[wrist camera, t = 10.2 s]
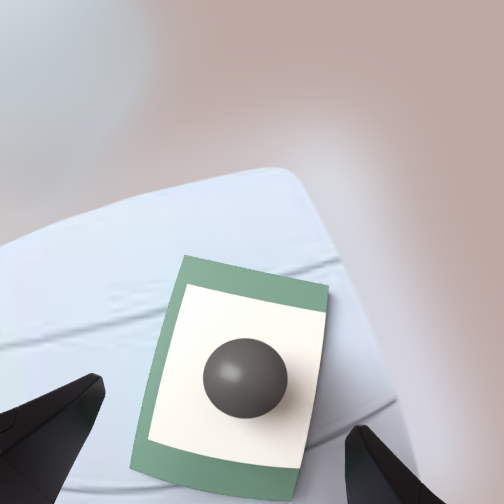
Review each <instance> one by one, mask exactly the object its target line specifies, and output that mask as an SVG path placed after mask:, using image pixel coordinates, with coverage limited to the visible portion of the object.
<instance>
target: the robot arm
mask: <svg viewBox="0 0 504 504" xmlns="http://www.w3.org/2000/svg"><path fill="white" fill-rule="evenodd" d="M104 397H105V387H104V383H103V378H102V377H101V376H99V375H97V374H94V373H90V374H88V375H86V376H84V377H81V378H79V379H77V380H75V381H73V382H71V383H69V384H67V385H64V386H62V387H60V388H58V389H56V390H54V391H51V392H49V393H47V394H45V395H43V396H40V397H38V398H36V399H34V400H31V401H29V402H27V403H25V404H22V405H20V406H18V407H15V408H13V409H11V410H8V411H5V412H3V413H0V504H54V503H55V500H56V498H57V496H58V494H59V492H60V490H61V488H62V486H63V484H64V482H65V480H66V478H67V476H68V474H69V472H70V470H71V468H72V466H73V464H74V462H75V460H76V458H77V456H78V454H79V452H80V450H81V448H82V446H83V444H84V443H85V441H86V439H87V437H88V435H89V433H90V431H91V429H92V427H93V425H94V422H95V420H96V417H97V415H98V412H99V410H100V407H101V405H102V402H103V400H104ZM345 482H346V491H347V501H348V504H446V503H444V502H443V501H442V500H441V499H439V498H438V497H437V496H436V495H435V494H433V493H432V492H431V491H430V490H429V489H428V488H427V487H426V486H425V485H424V484H423V483H421V481H420V480H419V479H418V478H417V477H416V476H415V475H414V474H413V473H412V472H411V471H410V470H409V469H408V468H407V467H406V466H405V465H404V464H403V463H402V462H401V461H400V460H399V459H398V458H397V457H396V456H395V455H394V454H393V453H392V451H391V450H390V449H389V448H388V447H387V446H386V445H385V444H384V443H383V442H382V441H381V440H380V439H379V438H378V437H377V436H376V435H375V434H374V432H373V431H372V430H371V429H370V428H369V427H368V426H366V425H356V426H354V428H353V429H352V430H351V432H350V433H349V435H348V436H347V437H346V440H345Z"/></svg>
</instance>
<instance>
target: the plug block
mask: <svg viewBox="0 0 504 504" xmlns="http://www.w3.org/2000/svg"><path fill="white" fill-rule="evenodd" d="M325 318H326V313H324V312H319V311H313V310H308V309H302V308H297V307H292V306H286V305H281V304H276V303H271V302H266V301H262V300H257V299H252V298H247V297H243V296H238V295H233V294H229V293H224V292H220V291H215V290H211V289H207V288H203V287H198V286H194V285H190V284H187V287H186V290H185V294H184V297H183V300H182V304H181V307H180V311H179V314H178V318H177V321H176V325H175V328H174V332H173V336H172V339H171V343H170V347H169V351H168V355H167V358H166V362H165V366H164V370H163V374H162V378H161V382H160V387H159V391H158V395H157V399H156V404H155V408H154V413H153V417H152V422H151V427H150V431H149V436H148V439H149V440H151V441H154V442H157V443H161V444H164V445H167V446H170V447H174V448H177V449H181V450H184V451H188V452H192V453H196V454H200V455H204V456H209V457H214V458H218V459H224V460H229V461H235V462H241V463H247V464H255V465H263V466H272V467H284V468H300V466H301V461H302V457H303V453H304V448H305V444H306V439H307V435H308V430H309V425H310V420H311V414H312V409H313V403H314V398H315V392H316V386H317V379H318V373H319V366H320V359H321V352H322V344H323V336H324V327H325Z"/></svg>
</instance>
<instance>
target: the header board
mask: <svg viewBox="0 0 504 504" xmlns="http://www.w3.org/2000/svg"><path fill="white" fill-rule="evenodd" d="M187 284H190V285H194V286H198V287H203V288H207V289H211V290H215V291H220V292H224V293H229V294H233V295H238V296H243V297H247V298H252V299H257V300H262V301H266V302H271V303H276V304H281V305H286V306H292V307H297V308H302V309H308V310H313V311H319V312H324V313H326V311H327V300H328V289H329V286H328V285H323V284H318V283H313V282H308V281H303V280H298V279H293V278H289V277H284V276H279V275H274V274H270V273H265V272H260V271H255V270H251V269H246V268H241V267H237V266H232V265H228V264H223V263H219V262H214V261H210V260H205V259H201V258H196V257H192V256H187V255H184V258H183V261H182V264H181V267H180V270H179V273H178V277H177V280H176V283H175V286H174V289H173V292H172V295H171V299H170V302H169V305H168V309H167V312H166V315H165V319H164V322H163V326H162V329H161V333H160V336H159V340H158V343H157V347H156V351H155V354H154V358H153V362H152V366H151V370H150V374H149V378H148V382H147V386H146V390H145V394H144V399H143V403H142V407H141V412H140V416H139V421H138V426H137V431H136V436H135V441H134V446H133V451H132V457H131V463H130V469H132V470H135V471H137V472H140V473H143V474H146V475H148V476H151V477H154V478H157V479H161V480H164V481H167V482H171V483H174V484H178V485H181V486H185V487H189V488H193V489H197V490H202V491H206V492H211V493H217V494H222V495H228V496H234V497H241V498H249V499H259V500H271V501H290V502H291V500H292V497H293V493H294V489H295V486H296V482H297V478H298V474H299V470H300V468H284V467H272V466H263V465H255V464H247V463H241V462H235V461H229V460H224V459H218V458H214V457H209V456H204V455H200V454H196V453H192V452H188V451H184V450H181V449H177V448H174V447H170V446H167V445H164V444H161V443H157V442H154V441H151V440H149V439H148V436H149V431H150V427H151V422H152V417H153V413H154V408H155V404H156V399H157V395H158V391H159V387H160V382H161V378H162V374H163V370H164V366H165V362H166V358H167V355H168V351H169V347H170V343H171V339H172V336H173V332H174V328H175V325H176V321H177V318H178V314H179V311H180V307H181V304H182V300H183V297H184V294H185V290H186V287H187ZM325 320H326V318H325ZM324 329H325V327H324ZM323 338H324V336H323ZM322 346H323V344H322ZM321 353H322V352H321ZM320 361H321V359H320ZM319 368H320V366H319ZM318 374H319V373H318ZM317 381H318V379H317ZM316 387H317V386H316ZM315 393H316V392H315ZM314 399H315V398H314ZM313 404H314V403H313ZM312 410H313V409H312ZM311 415H312V414H311ZM309 426H310V425H309ZM306 440H307V439H306ZM305 445H306V444H305ZM304 449H305V448H304ZM302 458H303V457H302ZM301 462H302V461H301Z"/></svg>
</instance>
